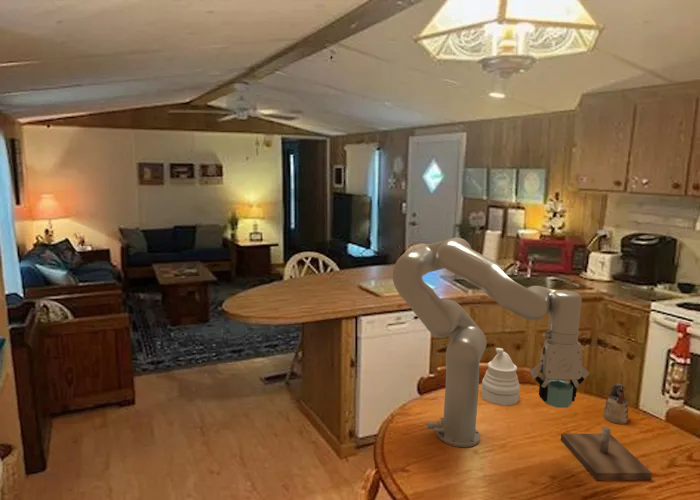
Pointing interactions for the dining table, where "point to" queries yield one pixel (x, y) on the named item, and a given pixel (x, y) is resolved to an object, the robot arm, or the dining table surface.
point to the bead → (559, 393)
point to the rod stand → (605, 456)
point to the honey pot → (501, 380)
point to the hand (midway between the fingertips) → (556, 398)
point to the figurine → (616, 406)
